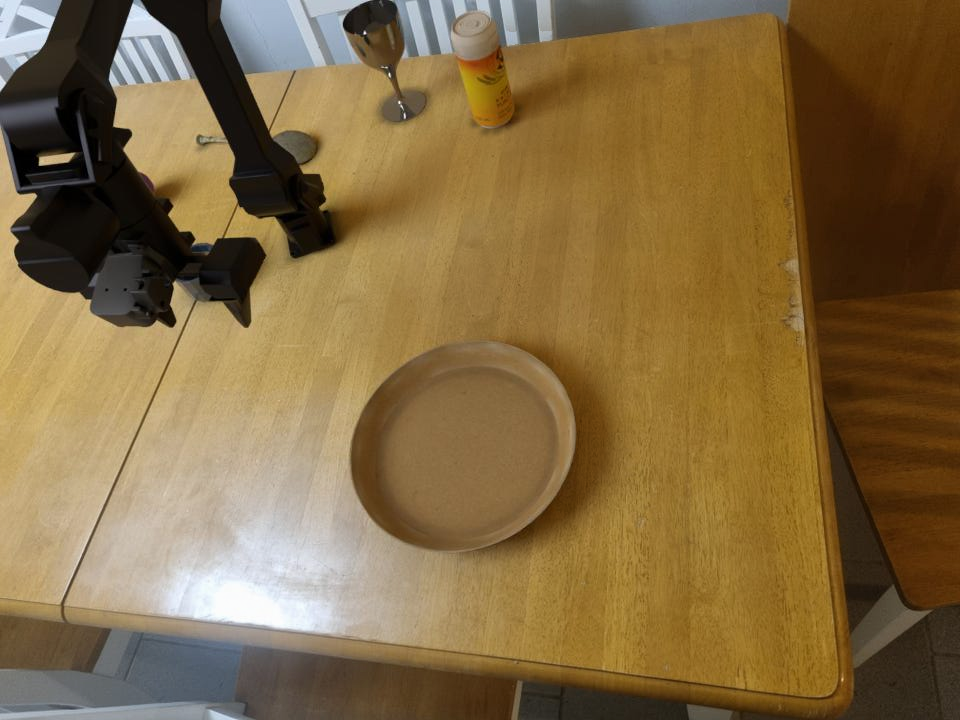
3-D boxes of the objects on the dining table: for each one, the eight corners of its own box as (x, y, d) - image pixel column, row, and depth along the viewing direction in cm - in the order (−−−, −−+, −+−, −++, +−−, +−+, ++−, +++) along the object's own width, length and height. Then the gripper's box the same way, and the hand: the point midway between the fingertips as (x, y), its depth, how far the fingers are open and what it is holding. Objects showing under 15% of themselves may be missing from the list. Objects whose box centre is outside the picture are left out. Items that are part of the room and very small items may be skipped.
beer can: (511, 130, 104) (489, 35, 92) (470, 131, 106) (443, 39, 93) (518, 101, 107) (498, 6, 95) (479, 103, 109) (453, 10, 96)
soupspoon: (305, 174, 110) (325, 145, 113) (297, 156, 107) (318, 127, 110) (190, 156, 117) (212, 130, 120) (180, 139, 114) (202, 113, 118)
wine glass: (378, 95, 115) (342, 7, 103) (427, 83, 114) (397, -7, 102) (378, 128, 111) (341, 40, 98) (429, 116, 110) (398, 25, 97)
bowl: (188, 274, 103) (169, 253, 99) (232, 257, 103) (216, 236, 99) (189, 310, 99) (170, 289, 95) (236, 292, 99) (219, 271, 95)
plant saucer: (333, 550, 75) (320, 539, 73) (387, 353, 88) (378, 337, 85) (566, 575, 69) (562, 564, 66) (589, 358, 81) (586, 341, 78)
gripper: (-7, 277, 64) (101, 384, 75) (175, 273, 58) (260, 388, 70) (60, 193, 70) (149, 304, 82) (229, 183, 65) (298, 302, 77)
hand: (210, 324), depth 78 cm, fingers open, 9 cm apart
